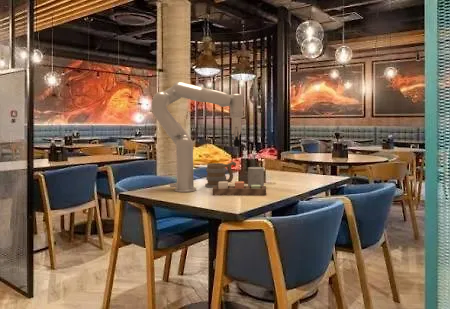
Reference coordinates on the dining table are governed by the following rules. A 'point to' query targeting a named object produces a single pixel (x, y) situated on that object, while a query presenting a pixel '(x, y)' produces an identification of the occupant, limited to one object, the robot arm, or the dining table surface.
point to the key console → (239, 191)
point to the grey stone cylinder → (256, 176)
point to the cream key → (223, 184)
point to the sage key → (255, 186)
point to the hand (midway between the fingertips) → (236, 146)
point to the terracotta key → (239, 184)
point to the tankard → (218, 173)
